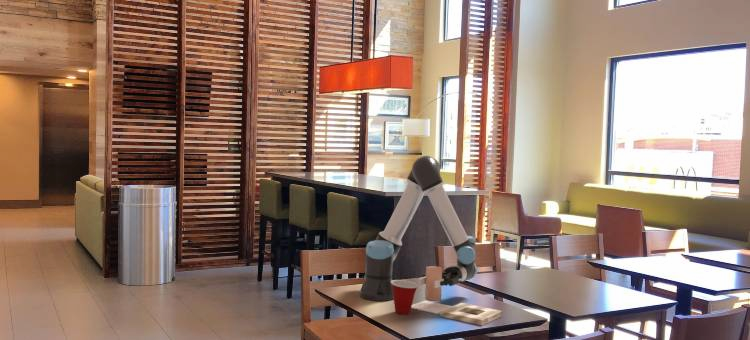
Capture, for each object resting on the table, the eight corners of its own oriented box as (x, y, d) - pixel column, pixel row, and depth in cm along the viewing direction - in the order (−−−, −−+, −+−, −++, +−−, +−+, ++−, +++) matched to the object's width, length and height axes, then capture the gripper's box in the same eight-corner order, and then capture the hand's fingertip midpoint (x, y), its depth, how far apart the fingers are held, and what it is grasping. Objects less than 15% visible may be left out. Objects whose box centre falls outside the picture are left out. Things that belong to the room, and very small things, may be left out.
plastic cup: (414, 317, 245) (416, 286, 245) (387, 314, 248) (388, 284, 247) (418, 310, 256) (420, 280, 255) (392, 308, 258) (393, 278, 258)
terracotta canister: (422, 299, 261) (423, 267, 260) (430, 296, 266) (431, 265, 266) (436, 302, 257) (437, 270, 257) (443, 299, 262) (445, 267, 262)
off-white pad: (407, 307, 260) (407, 306, 260) (425, 301, 272) (425, 300, 271) (437, 314, 252) (437, 313, 252) (454, 307, 263) (454, 306, 263)
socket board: (439, 316, 249) (440, 311, 249) (461, 307, 264) (461, 302, 264) (482, 325, 239) (482, 320, 239) (502, 316, 254) (502, 311, 254)
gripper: (474, 287, 271) (448, 296, 252) (434, 280, 282) (406, 288, 263) (475, 269, 270) (449, 277, 251) (435, 263, 281) (407, 270, 262)
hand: (427, 283), depth 257 cm, fingers closed on terracotta canister, 6 cm apart
